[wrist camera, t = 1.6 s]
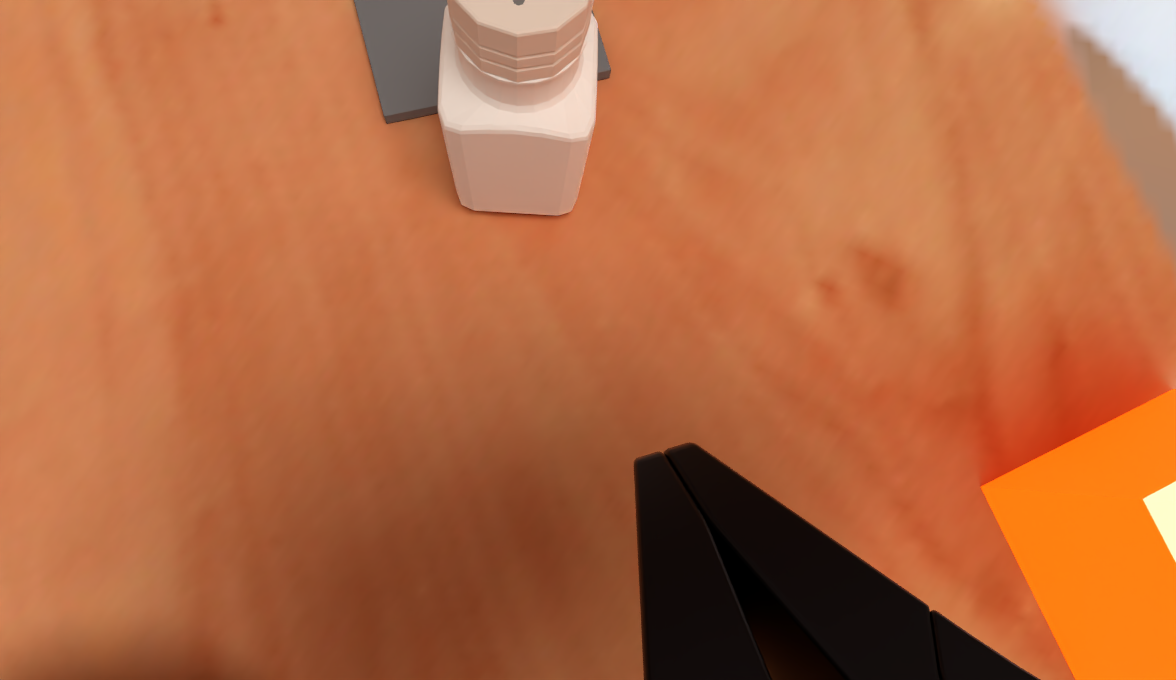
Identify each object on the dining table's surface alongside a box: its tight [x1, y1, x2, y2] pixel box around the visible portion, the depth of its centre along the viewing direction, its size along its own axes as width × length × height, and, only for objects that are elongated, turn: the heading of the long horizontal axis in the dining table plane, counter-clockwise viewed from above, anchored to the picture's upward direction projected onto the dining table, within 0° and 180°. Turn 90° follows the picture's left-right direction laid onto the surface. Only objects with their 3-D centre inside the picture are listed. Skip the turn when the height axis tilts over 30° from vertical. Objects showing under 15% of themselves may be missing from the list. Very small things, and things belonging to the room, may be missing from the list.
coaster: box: [354, 0, 611, 124], centre depth 23 cm, size 7×8×1 cm
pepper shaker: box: [438, 0, 598, 216], centre depth 18 cm, size 4×4×10 cm
